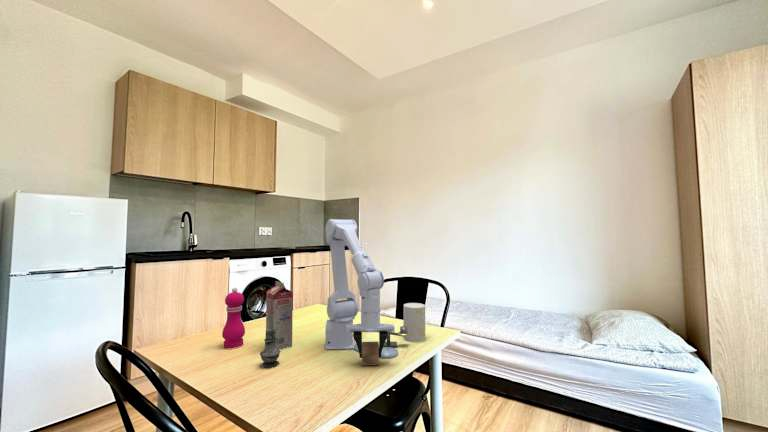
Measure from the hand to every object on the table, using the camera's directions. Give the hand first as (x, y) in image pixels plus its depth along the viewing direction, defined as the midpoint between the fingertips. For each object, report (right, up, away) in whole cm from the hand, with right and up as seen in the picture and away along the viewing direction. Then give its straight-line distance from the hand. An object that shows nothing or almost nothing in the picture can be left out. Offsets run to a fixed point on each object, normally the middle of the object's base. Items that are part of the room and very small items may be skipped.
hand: (370, 356), depth 94 cm
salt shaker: (-30, -2, -1) cm, 30 cm away
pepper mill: (-48, -3, +14) cm, 51 cm away
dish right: (+5, -2, +7) cm, 9 cm away
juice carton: (-32, -3, +14) cm, 35 cm away
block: (0, -1, 0) cm, 2 cm away
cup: (+16, -3, +22) cm, 27 cm away
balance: (+6, -3, +14) cm, 15 cm away
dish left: (-2, -3, +12) cm, 12 cm away
